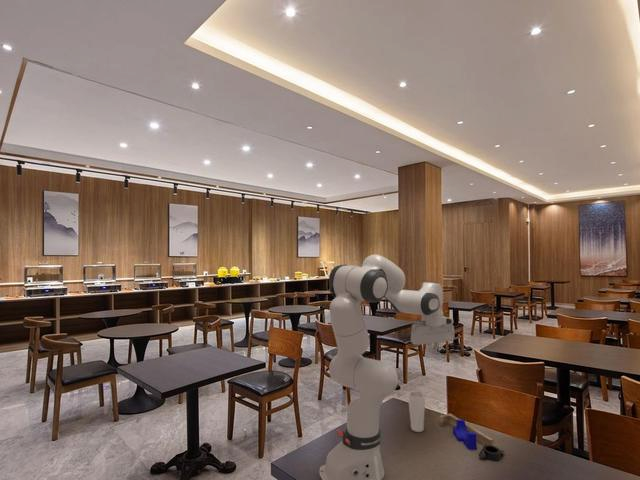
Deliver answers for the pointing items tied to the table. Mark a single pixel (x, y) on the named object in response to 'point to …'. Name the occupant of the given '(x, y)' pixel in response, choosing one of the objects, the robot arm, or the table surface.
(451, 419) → the bar
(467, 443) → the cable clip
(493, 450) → the black winged round fixture
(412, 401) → the drinking glass
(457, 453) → the table surface
